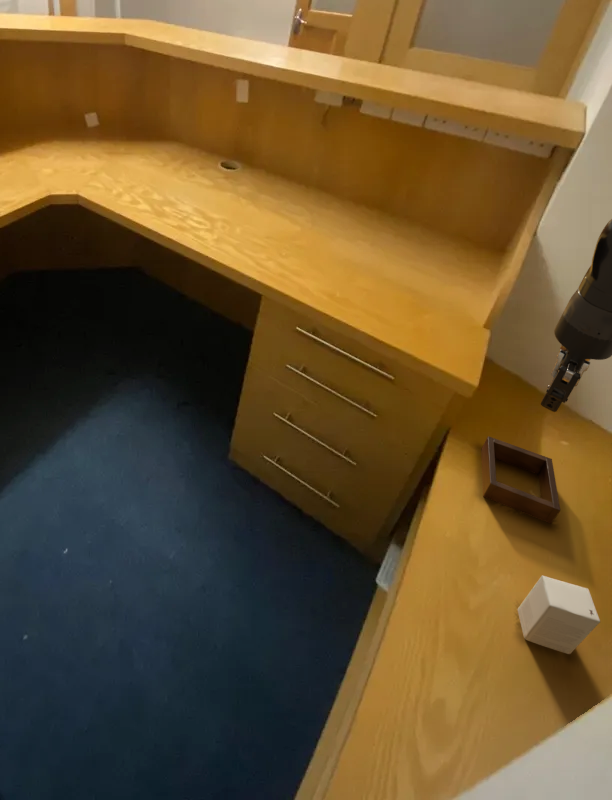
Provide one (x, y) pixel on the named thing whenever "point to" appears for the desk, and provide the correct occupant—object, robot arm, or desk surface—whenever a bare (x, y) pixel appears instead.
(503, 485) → the box
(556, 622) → the cosmetic box
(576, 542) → the desk surface
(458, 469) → the desk surface
